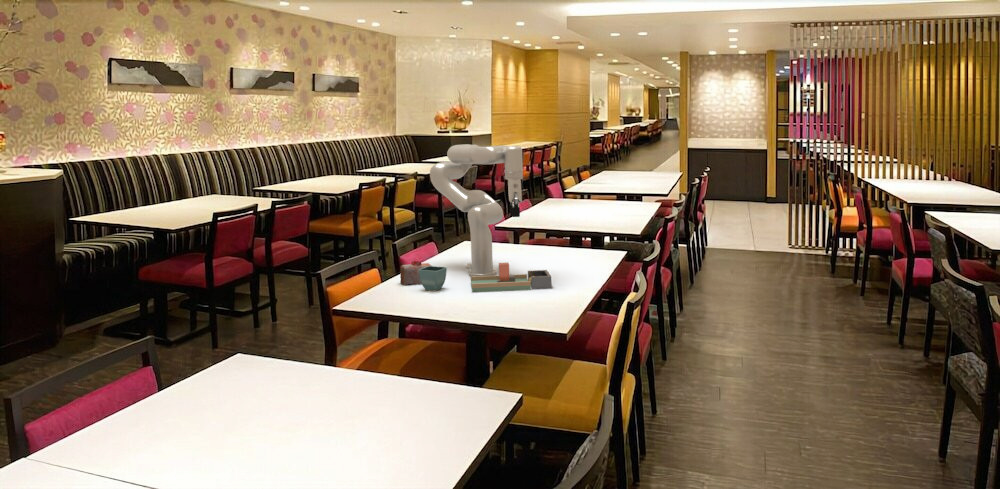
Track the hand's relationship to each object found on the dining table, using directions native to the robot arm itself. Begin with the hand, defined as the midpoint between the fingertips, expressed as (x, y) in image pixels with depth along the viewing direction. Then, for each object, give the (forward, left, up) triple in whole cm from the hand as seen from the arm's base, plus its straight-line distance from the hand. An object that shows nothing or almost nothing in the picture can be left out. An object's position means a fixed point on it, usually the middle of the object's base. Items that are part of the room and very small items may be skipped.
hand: (514, 215), depth 325 cm
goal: (+14, -5, -28) cm, 32 cm away
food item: (-34, -26, -29) cm, 52 cm away
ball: (+13, -6, -26) cm, 30 cm away
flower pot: (-20, -32, -28) cm, 47 cm away
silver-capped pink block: (+4, -13, -26) cm, 30 cm away
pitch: (+2, -15, -28) cm, 32 cm away
